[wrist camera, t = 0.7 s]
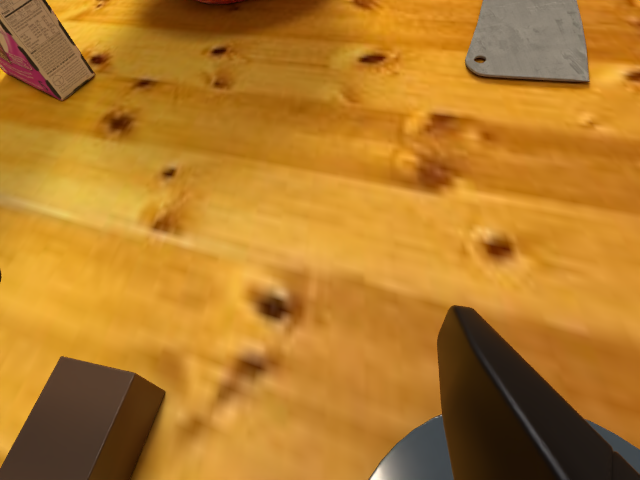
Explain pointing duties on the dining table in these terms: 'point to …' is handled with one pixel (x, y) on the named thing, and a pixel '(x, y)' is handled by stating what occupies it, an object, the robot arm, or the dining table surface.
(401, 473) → the plate
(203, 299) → the dining table surface
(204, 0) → the mixing bowl
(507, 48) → the cleaver
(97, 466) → the block
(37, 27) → the candy bar box
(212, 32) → the dining table surface
